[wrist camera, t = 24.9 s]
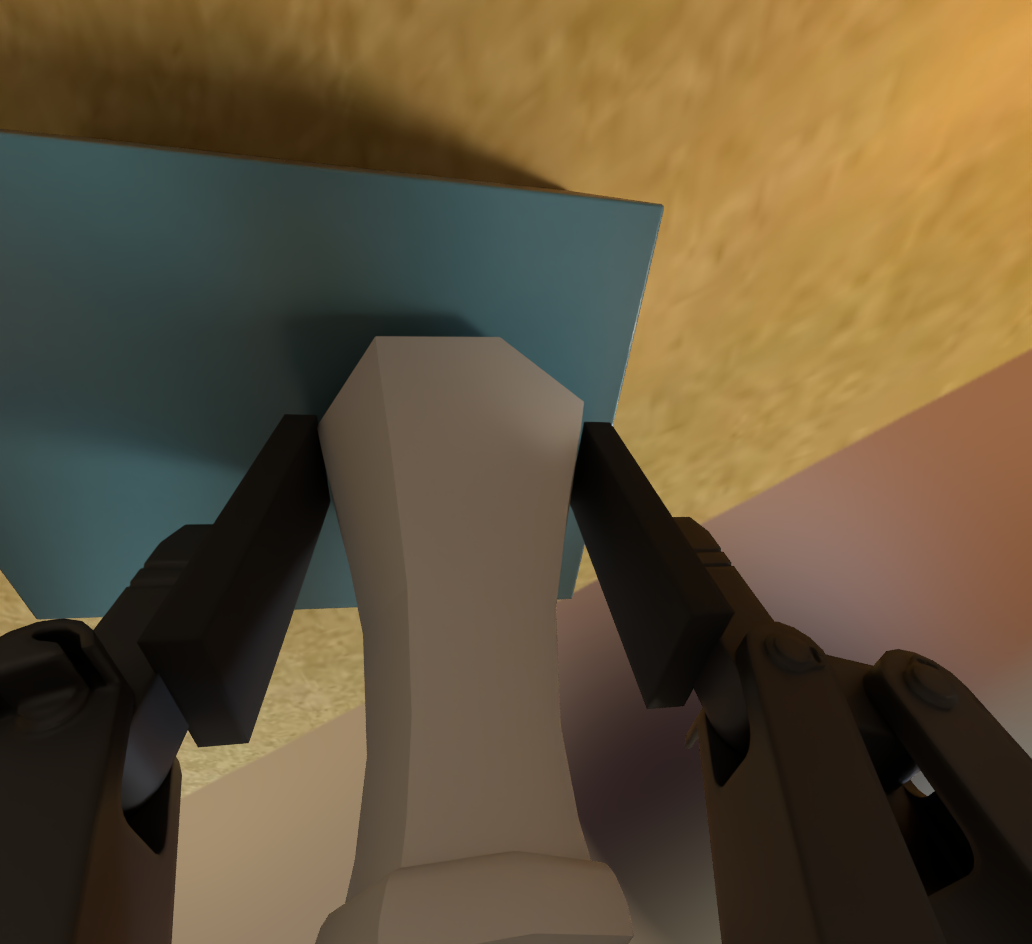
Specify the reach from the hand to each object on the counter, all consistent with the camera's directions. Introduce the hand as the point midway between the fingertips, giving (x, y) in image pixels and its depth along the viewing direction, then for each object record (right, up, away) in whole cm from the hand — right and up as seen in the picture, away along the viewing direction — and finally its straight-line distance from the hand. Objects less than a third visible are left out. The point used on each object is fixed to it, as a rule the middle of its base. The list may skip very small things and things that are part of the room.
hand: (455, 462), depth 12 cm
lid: (-5, +1, +1) cm, 5 cm away
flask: (0, 0, 0) cm, 0 cm away
